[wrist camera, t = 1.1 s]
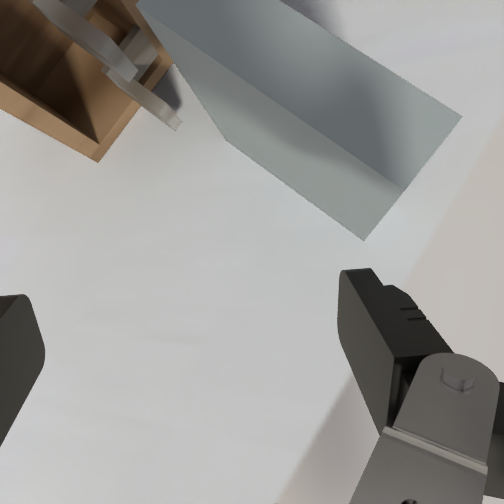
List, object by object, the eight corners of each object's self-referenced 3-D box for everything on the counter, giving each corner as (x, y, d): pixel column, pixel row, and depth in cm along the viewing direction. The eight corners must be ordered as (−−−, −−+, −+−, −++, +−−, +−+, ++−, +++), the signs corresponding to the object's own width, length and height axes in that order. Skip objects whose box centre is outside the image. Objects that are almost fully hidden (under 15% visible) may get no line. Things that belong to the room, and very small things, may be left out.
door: (226, 140, 31) (135, 5, 16) (251, 106, 31) (183, -61, 16) (363, 241, 29) (404, 190, 14) (391, 205, 29) (462, 116, 14)
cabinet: (25, 105, 34) (-303, -97, 16) (115, -18, 33) (-120, -362, 16) (141, 197, 32) (-93, 81, 14) (239, 67, 31) (127, -224, 13)
